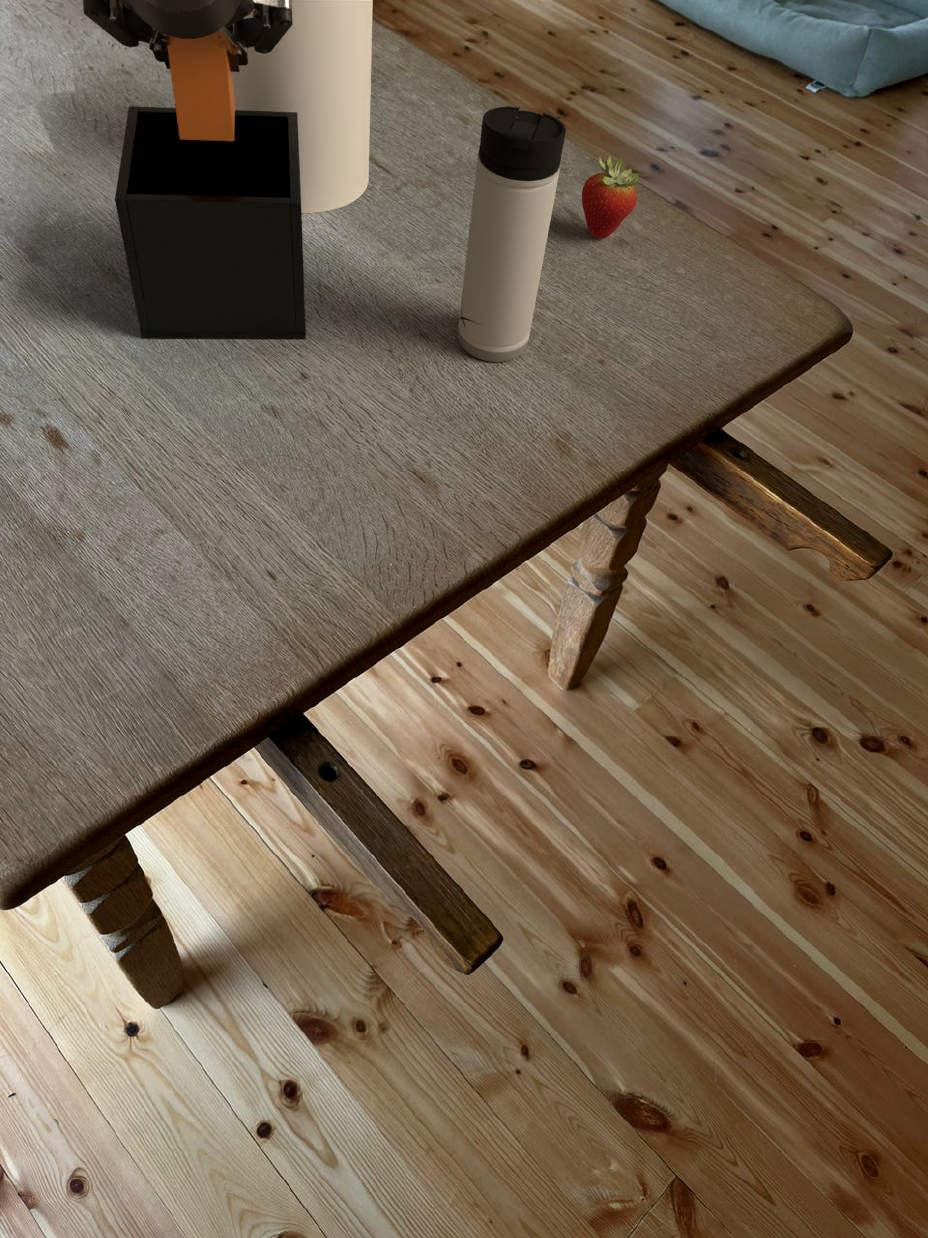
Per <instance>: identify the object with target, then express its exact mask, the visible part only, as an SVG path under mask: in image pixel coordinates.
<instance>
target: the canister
mask: <svg viewBox="0 0 928 1238" xmlns="http://www.w3.org/2000/svg"><path fill="white" fill-rule="evenodd" d="M373 6H374V0H292V21H293V25H292V26H291V27H290V29H289V30H288V31H287V32H286V34H285V35H284V36H283V37H282V39H281V40H280V41H279V42H278V44H277V45H276V46H275V47H274V49H273V50H272V51H271V52H269V53H265V54H263V53H259V52H256V51H255V50H254V47H250V48H247V49H248V64H247V65H246V66H240V65H239V70H240V72H232V78H233V90H234V101H235V110H247V111H274V112H297V114H298V138H299V162H300V187H301V212H302V214H313V213H314V214H316V213H323V212H329V211H333V210H337V209H340V208H343V207H345V206H348V205H350V204H351V203H353V202H355V201H356V200H358V199H359V198H360V197H362V196H363V194H364V193H365V191H366V190H367V188H368V185H369V182H370V181H369V180H370V142H371V141H370V137H371V136H370V134H371V99H372V98H371V97H372V96H371V95H372V94H371V91H372V49H373ZM254 10H255V9H253V11H254ZM253 11H252V12H251V14H249V15H248V16H246V17H245V18H253Z"/></svg>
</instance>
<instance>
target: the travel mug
mask: <svg viewBox="0 0 928 1238" xmlns="http://www.w3.org/2000/svg"><path fill="white" fill-rule="evenodd" d="M566 133H567V128H566V126H565V124H564V123H563V121H561V120H560V119H559V118H557V117H555V116H553V115H551V114H548V113H546V112H543V113H542V114H540V113H537V112H533V111H529V110H520V106H510V105H509V106H500V107H494V108H491V109H489V110H487V111H486V112H484V114H483V116H482V119H481V128H480V138H479V141H480V143H479V147H478V152H477V157H476V158H477V159H476V160H477V162H476V167H475V175H474V176H475V177H474V183H473V184H474V185H473V195H472V203H471V211H470V219H469V222H470V223H469V227H468V228H469V230H468V238H467V245H466V254H465V255H466V256H465V264H464V272H463V273H464V274H463V281H462V282H463V283H462V290H461V291H462V292H461V299H460V309H459V319H458V324H457V325H458V326H457V340H458V342H459V345H460V346H461V347H462V349H463V350H464V351H465V352H466V353H467V354H469V355H470V356H472V357H474V358H477V359H480V360H483V361H485V362H492V363H493V362H496V363H500V362H501V363H502V362H507V361H512V360H515V359H517V358H518V357H520V356H521V355H523V353H525V351H526V350H527V348H528V345H529V339H530V335H531V330H532V324H533V319H534V312H535V307H536V301H537V297H538V291H539V285H540V280H541V275H542V269H543V264H544V263H543V262H544V258H545V252H546V246H547V241H548V236H549V230H550V226H551V221H552V220H551V219H552V214H553V209H554V203H555V198H556V192H557V188H558V187H557V186H558V181H559V175H560V171H561V166H562V165H561V164H562V163H561V160H562V155H563V151H564V144H565V138H566Z"/></svg>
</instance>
